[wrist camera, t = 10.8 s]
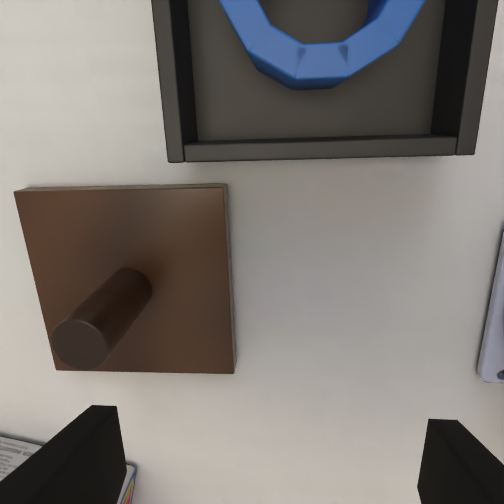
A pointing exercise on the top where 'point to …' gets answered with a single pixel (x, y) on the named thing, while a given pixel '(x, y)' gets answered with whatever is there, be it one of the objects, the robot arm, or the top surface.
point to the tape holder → (133, 276)
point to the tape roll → (319, 54)
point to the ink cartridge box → (16, 452)
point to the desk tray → (322, 100)
